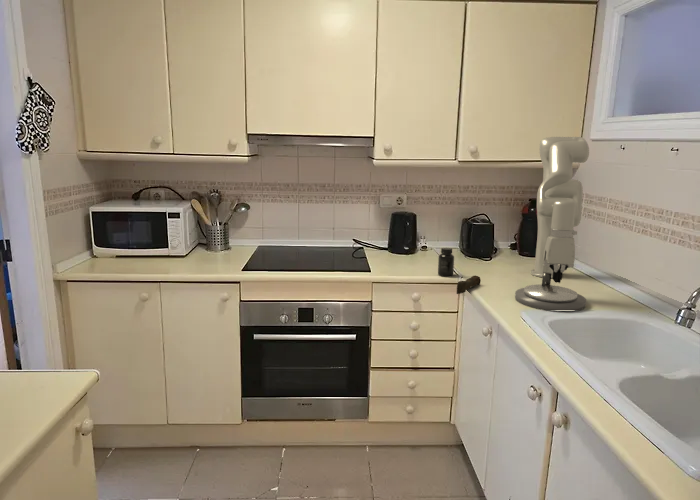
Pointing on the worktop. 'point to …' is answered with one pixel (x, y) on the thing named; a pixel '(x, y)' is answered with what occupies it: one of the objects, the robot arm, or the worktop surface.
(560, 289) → the dial
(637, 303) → the worktop surface
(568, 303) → the dial base
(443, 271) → the supplement bottle
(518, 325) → the worktop surface
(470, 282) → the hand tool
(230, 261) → the worktop surface
